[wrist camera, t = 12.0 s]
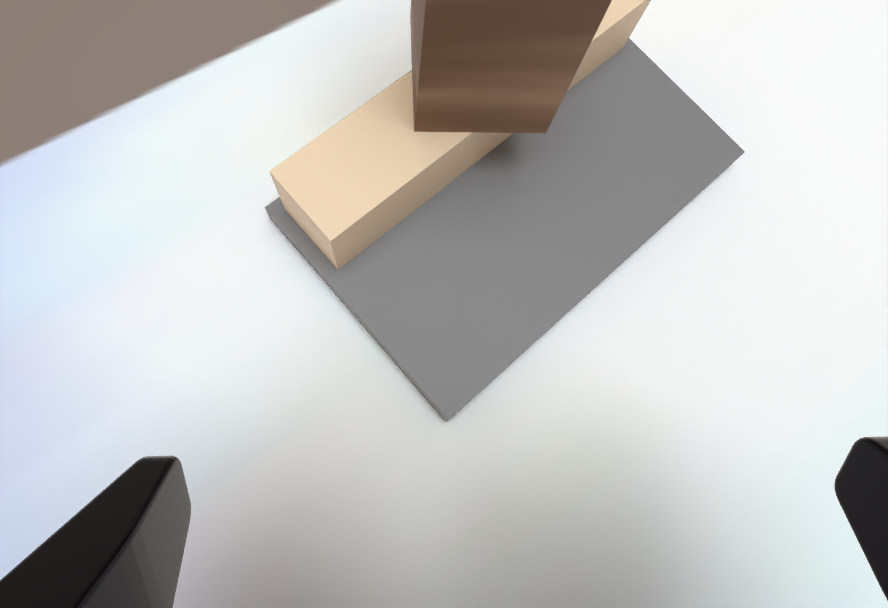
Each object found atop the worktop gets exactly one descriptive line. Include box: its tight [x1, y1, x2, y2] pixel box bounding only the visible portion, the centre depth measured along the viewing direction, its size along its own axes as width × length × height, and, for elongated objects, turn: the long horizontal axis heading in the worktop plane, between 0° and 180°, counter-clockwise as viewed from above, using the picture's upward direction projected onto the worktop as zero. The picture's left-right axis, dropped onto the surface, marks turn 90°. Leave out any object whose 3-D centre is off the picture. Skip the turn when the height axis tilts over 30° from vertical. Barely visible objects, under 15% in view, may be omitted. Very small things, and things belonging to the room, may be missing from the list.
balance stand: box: [265, 0, 745, 421], centre depth 22 cm, size 10×16×4 cm, turn 132°
